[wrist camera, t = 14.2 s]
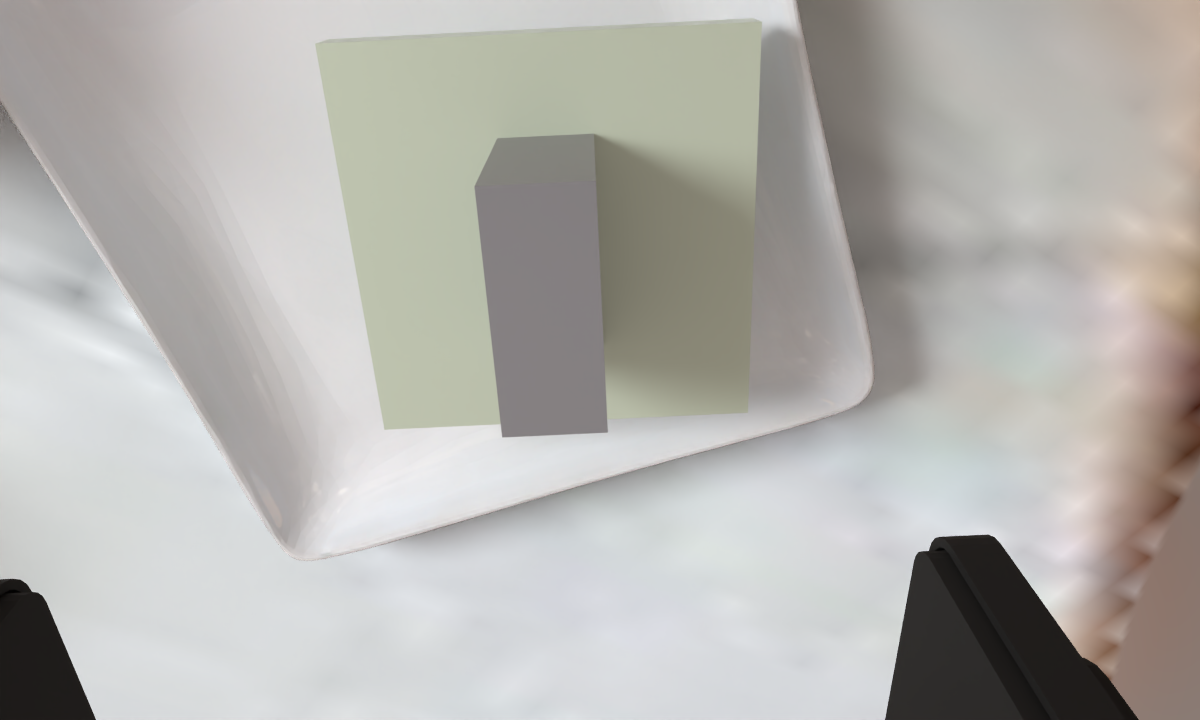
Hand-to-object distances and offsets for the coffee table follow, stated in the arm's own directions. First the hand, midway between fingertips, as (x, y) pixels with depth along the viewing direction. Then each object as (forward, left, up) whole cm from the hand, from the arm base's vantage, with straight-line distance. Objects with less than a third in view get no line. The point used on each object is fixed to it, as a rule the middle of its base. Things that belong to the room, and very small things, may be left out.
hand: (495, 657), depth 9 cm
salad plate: (-1, -3, -20) cm, 20 cm away
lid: (0, 0, -17) cm, 16 cm away
